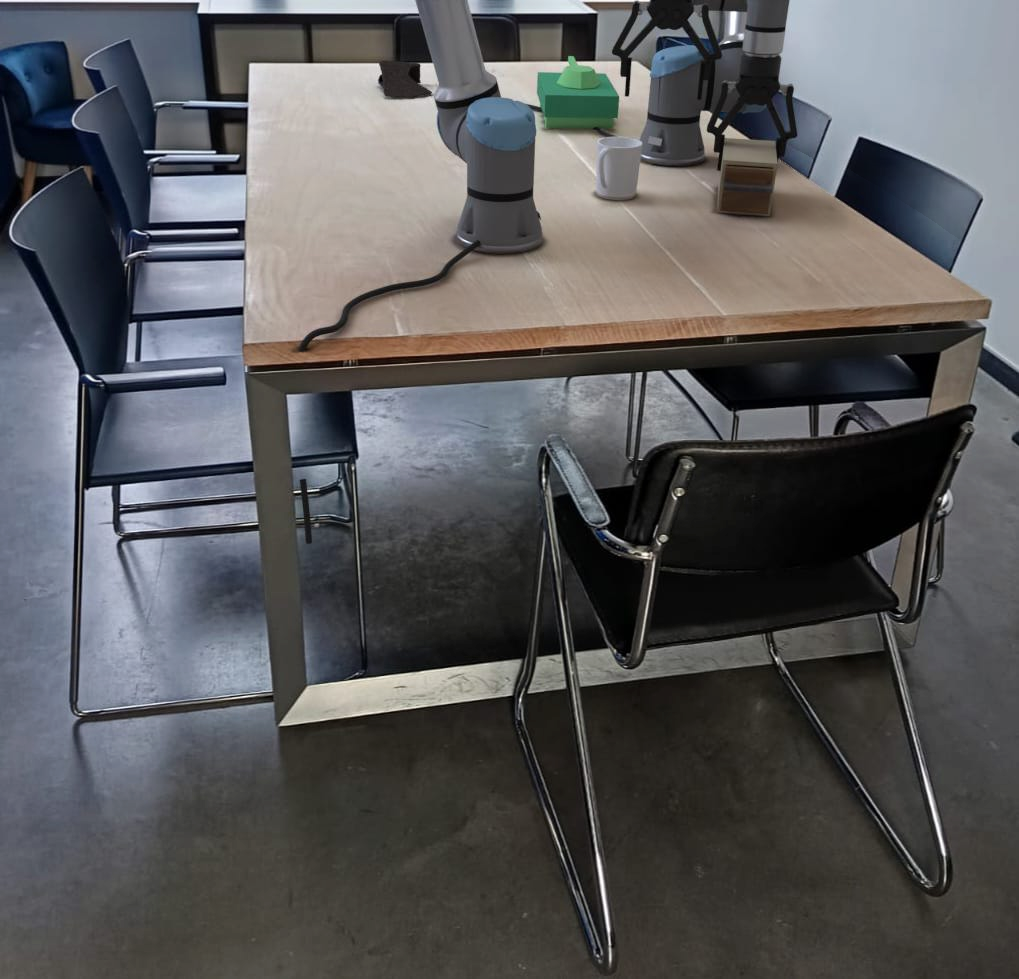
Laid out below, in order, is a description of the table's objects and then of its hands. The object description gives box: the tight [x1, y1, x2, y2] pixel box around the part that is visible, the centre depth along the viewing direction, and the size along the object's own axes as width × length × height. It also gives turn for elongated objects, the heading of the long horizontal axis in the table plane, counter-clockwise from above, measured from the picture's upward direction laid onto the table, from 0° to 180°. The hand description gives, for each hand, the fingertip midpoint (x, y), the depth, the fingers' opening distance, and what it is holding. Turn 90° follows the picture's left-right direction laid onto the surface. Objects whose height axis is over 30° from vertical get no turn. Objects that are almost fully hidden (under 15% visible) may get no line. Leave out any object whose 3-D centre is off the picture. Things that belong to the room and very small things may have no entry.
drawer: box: [720, 165, 774, 214], centre depth 212 cm, size 21×9×8 cm, turn 170°
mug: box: [595, 136, 642, 201], centre depth 218 cm, size 11×9×10 cm
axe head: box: [377, 59, 433, 99], centre depth 299 cm, size 18×8×15 cm
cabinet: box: [716, 137, 779, 217], centre depth 216 cm, size 17×10×10 cm, turn 170°
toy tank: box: [536, 55, 620, 130], centre depth 276 cm, size 18×12×35 cm
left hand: (663, 96), depth 207 cm, fingers open, 13 cm apart
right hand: (746, 170), depth 220 cm, fingers closed on cabinet, 10 cm apart
